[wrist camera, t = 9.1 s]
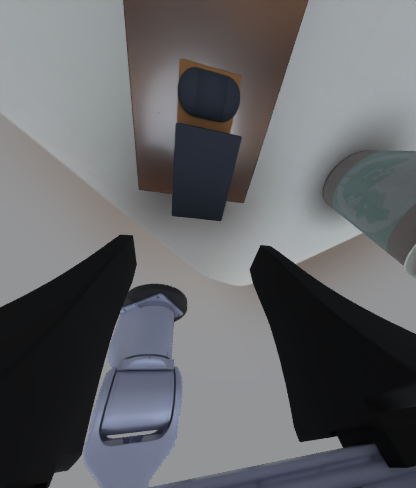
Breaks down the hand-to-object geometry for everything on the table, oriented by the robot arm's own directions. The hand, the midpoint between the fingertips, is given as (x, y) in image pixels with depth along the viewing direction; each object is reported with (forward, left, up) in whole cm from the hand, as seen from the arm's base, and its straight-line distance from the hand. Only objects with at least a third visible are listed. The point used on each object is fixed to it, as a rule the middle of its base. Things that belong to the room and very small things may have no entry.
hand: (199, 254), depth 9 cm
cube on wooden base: (+3, +4, -6) cm, 8 cm away
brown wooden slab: (+12, +18, -9) cm, 23 cm away
